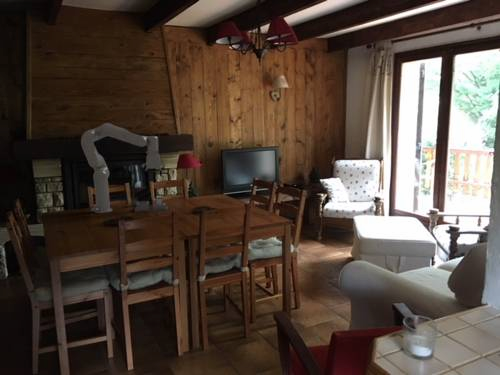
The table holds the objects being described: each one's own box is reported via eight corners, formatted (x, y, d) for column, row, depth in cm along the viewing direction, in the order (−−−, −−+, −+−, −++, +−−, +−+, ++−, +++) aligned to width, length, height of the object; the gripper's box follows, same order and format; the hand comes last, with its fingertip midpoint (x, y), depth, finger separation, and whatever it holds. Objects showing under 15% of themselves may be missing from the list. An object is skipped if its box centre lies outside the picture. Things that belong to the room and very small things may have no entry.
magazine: (156, 201, 340) (147, 185, 334) (142, 210, 334) (133, 194, 328) (154, 201, 343) (145, 185, 337) (140, 210, 337) (131, 194, 331)
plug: (156, 208, 319) (156, 197, 317) (156, 207, 322) (156, 196, 321) (162, 208, 320) (161, 196, 318) (162, 207, 323) (161, 195, 322)
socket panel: (134, 212, 312) (134, 204, 311) (135, 209, 322) (134, 201, 321) (168, 210, 317) (167, 202, 316) (167, 207, 328) (167, 199, 327)
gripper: (141, 153, 310) (141, 176, 312) (165, 153, 314) (165, 176, 316) (141, 152, 317) (141, 175, 320) (165, 152, 321) (165, 175, 323)
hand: (153, 176), depth 318 cm, fingers open, 9 cm apart
